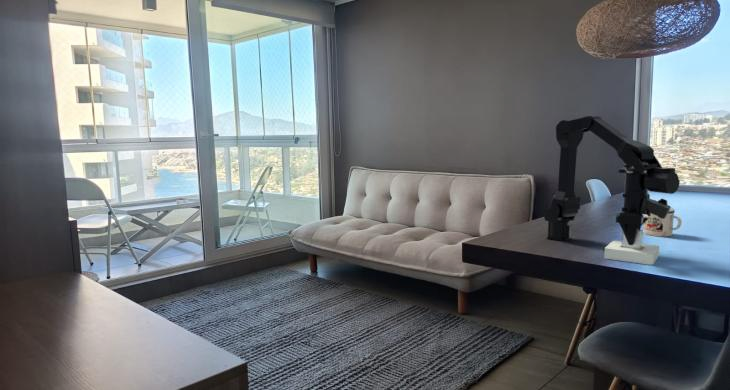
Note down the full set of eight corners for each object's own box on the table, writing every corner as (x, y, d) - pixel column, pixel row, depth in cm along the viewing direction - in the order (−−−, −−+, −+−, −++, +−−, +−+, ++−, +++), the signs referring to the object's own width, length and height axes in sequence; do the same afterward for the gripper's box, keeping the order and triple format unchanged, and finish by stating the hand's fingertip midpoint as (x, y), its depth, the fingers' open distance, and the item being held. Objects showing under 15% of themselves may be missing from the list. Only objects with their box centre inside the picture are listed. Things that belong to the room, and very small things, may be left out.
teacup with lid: (636, 233, 167) (639, 200, 166) (652, 230, 172) (654, 198, 170) (671, 239, 157) (674, 205, 155) (687, 236, 161) (690, 202, 159)
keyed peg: (638, 259, 134) (640, 231, 133) (620, 256, 137) (622, 229, 136) (641, 257, 137) (643, 230, 136) (623, 254, 140) (625, 228, 139)
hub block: (604, 258, 136) (604, 248, 135) (613, 249, 145) (613, 240, 145) (652, 265, 128) (653, 254, 128) (658, 255, 138) (659, 245, 137)
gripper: (665, 195, 122) (660, 254, 124) (673, 188, 136) (669, 241, 138) (616, 192, 129) (613, 248, 131) (629, 185, 143) (626, 236, 145)
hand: (632, 243), depth 136 cm, fingers open, 4 cm apart
